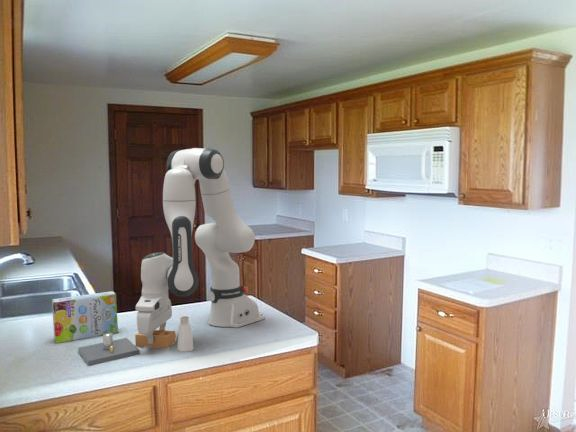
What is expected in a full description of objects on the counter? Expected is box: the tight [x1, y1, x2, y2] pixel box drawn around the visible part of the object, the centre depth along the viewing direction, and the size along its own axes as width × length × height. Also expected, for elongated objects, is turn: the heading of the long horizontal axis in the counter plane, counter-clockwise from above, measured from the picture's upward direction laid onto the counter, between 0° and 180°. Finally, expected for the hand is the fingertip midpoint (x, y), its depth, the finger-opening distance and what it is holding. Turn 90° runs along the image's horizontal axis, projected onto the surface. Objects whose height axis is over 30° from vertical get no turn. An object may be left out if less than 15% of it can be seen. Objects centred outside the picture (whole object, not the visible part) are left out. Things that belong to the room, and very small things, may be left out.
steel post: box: [102, 332, 114, 350], centre depth 161 cm, size 3×3×6 cm
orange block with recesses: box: [134, 329, 177, 349], centre depth 169 cm, size 12×6×4 cm, turn 79°
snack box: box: [51, 290, 119, 344], centre depth 178 cm, size 21×6×15 cm, turn 119°
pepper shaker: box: [176, 315, 194, 353], centre depth 164 cm, size 5×5×11 cm
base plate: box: [77, 337, 140, 366], centre depth 162 cm, size 16×14×2 cm
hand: (156, 338), depth 169 cm, fingers open, 7 cm apart
